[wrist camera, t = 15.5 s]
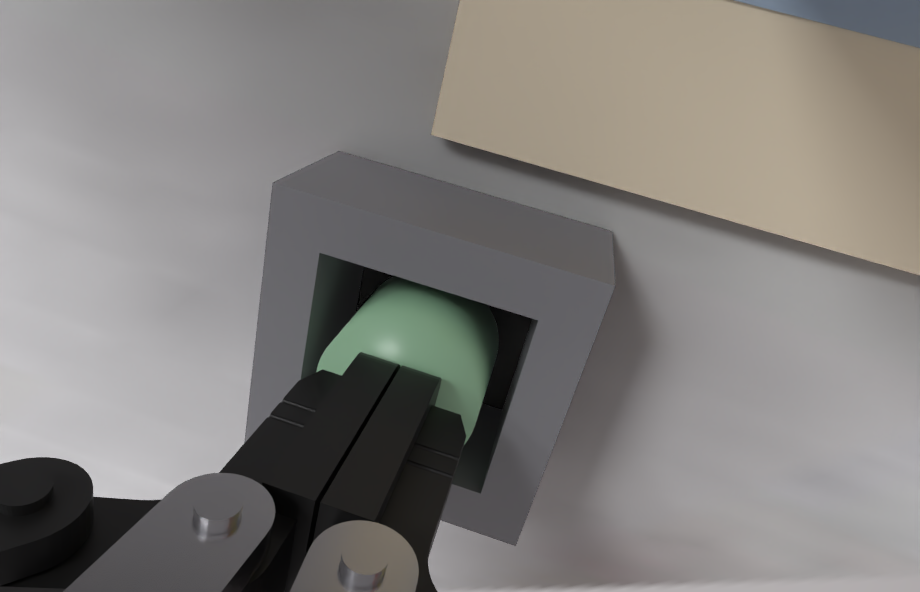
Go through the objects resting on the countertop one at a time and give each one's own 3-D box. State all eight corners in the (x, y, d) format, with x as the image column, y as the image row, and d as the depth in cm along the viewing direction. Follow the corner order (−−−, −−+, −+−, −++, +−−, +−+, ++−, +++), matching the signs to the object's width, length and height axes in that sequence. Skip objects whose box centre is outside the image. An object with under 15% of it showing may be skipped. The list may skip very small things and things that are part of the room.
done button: (375, 252, 13) (327, 300, 11) (515, 295, 13) (497, 353, 10) (352, 372, 14) (305, 437, 12) (479, 413, 14) (455, 488, 12)
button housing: (339, 150, 13) (272, 182, 11) (612, 231, 13) (615, 286, 10) (304, 380, 16) (243, 452, 13) (530, 454, 15) (515, 546, 13)
